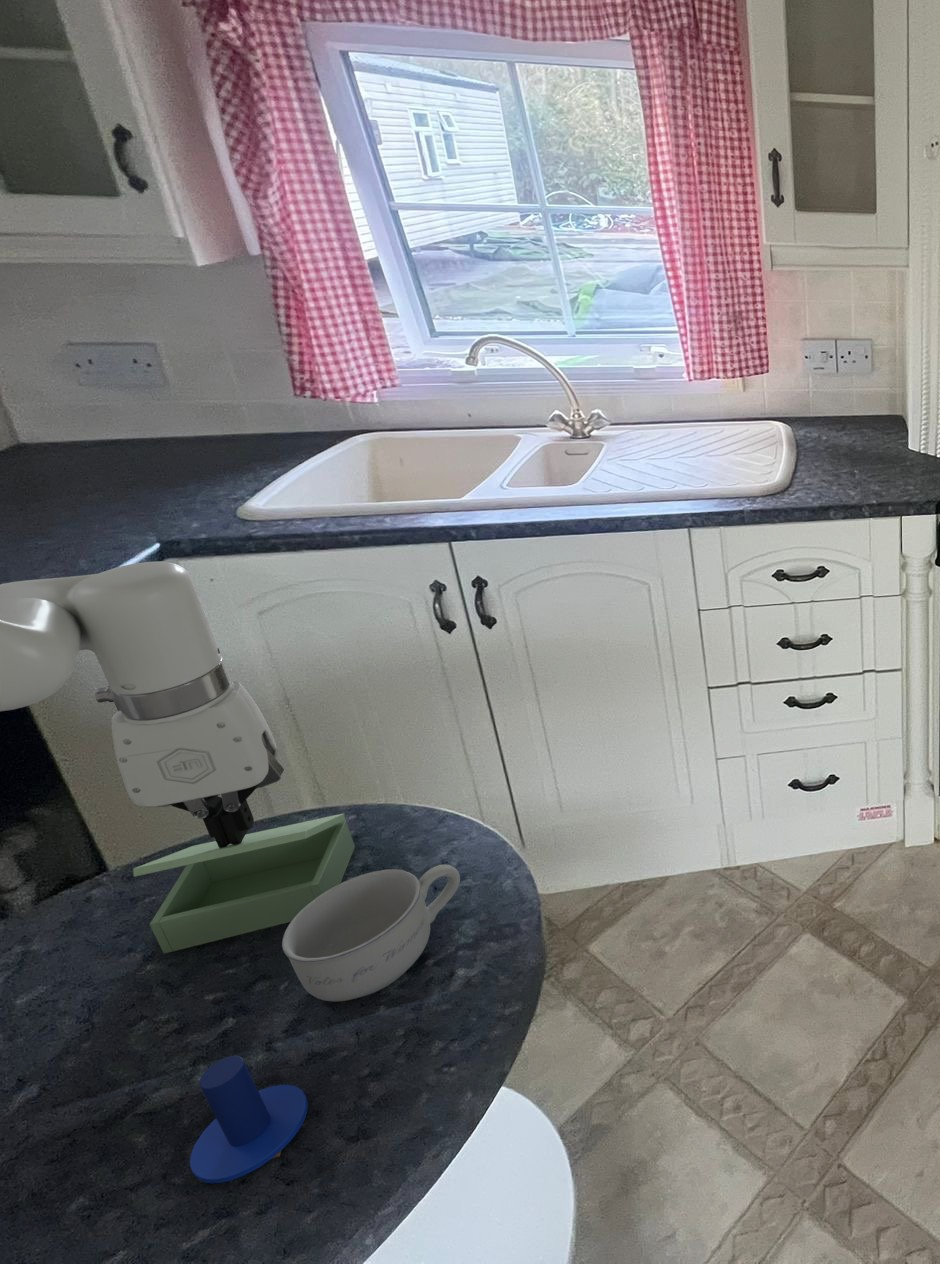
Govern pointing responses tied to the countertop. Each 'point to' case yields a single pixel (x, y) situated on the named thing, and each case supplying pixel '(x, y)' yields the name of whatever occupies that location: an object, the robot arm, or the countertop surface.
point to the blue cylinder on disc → (243, 1122)
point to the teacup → (364, 932)
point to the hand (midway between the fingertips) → (235, 836)
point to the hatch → (240, 845)
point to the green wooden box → (251, 889)
